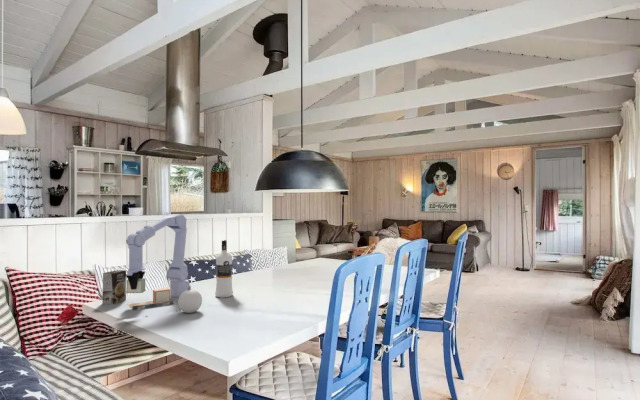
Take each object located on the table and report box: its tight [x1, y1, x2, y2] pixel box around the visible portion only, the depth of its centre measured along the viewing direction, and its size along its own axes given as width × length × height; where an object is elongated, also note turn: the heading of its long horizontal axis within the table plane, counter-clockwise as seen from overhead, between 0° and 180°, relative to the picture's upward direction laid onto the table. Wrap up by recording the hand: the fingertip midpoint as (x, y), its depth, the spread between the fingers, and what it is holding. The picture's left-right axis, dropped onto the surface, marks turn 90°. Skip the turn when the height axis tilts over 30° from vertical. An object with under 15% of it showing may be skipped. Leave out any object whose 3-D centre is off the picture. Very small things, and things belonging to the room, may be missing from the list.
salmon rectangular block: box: [152, 287, 171, 303], centre depth 189 cm, size 4×7×6 cm, turn 127°
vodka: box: [214, 239, 234, 299], centre depth 206 cm, size 9×9×30 cm
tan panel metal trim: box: [127, 300, 174, 311], centre depth 184 cm, size 18×13×3 cm
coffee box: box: [102, 269, 127, 305], centre depth 190 cm, size 9×6×16 cm
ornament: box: [177, 285, 203, 314], centre depth 174 cm, size 10×10×12 cm
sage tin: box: [126, 277, 146, 294], centre depth 180 cm, size 4×7×6 cm, turn 94°
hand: (135, 288), depth 180 cm, fingers closed on sage tin, 4 cm apart
